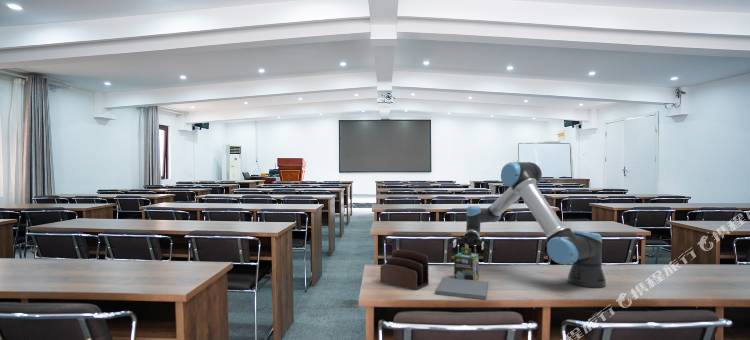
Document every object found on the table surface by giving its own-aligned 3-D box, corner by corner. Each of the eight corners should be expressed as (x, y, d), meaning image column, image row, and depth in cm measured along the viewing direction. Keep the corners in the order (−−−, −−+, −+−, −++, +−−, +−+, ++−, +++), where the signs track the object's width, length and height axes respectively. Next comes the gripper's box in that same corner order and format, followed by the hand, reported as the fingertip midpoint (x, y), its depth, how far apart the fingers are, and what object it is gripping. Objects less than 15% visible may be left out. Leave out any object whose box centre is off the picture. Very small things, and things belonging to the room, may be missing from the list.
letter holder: (393, 277, 190) (393, 247, 189) (429, 285, 177) (429, 253, 177) (379, 281, 182) (380, 250, 182) (416, 290, 169) (416, 257, 169)
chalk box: (479, 278, 188) (479, 246, 188) (473, 283, 180) (473, 250, 180) (460, 275, 193) (460, 244, 192) (453, 280, 185) (453, 248, 184)
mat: (488, 285, 177) (488, 281, 177) (485, 299, 158) (485, 295, 158) (442, 280, 184) (442, 277, 184) (435, 294, 165) (435, 290, 165)
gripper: (495, 246, 212) (494, 255, 192) (448, 242, 220) (442, 251, 200) (495, 232, 212) (494, 240, 192) (448, 229, 220) (442, 236, 199)
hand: (467, 245), depth 196 cm, fingers open, 13 cm apart
